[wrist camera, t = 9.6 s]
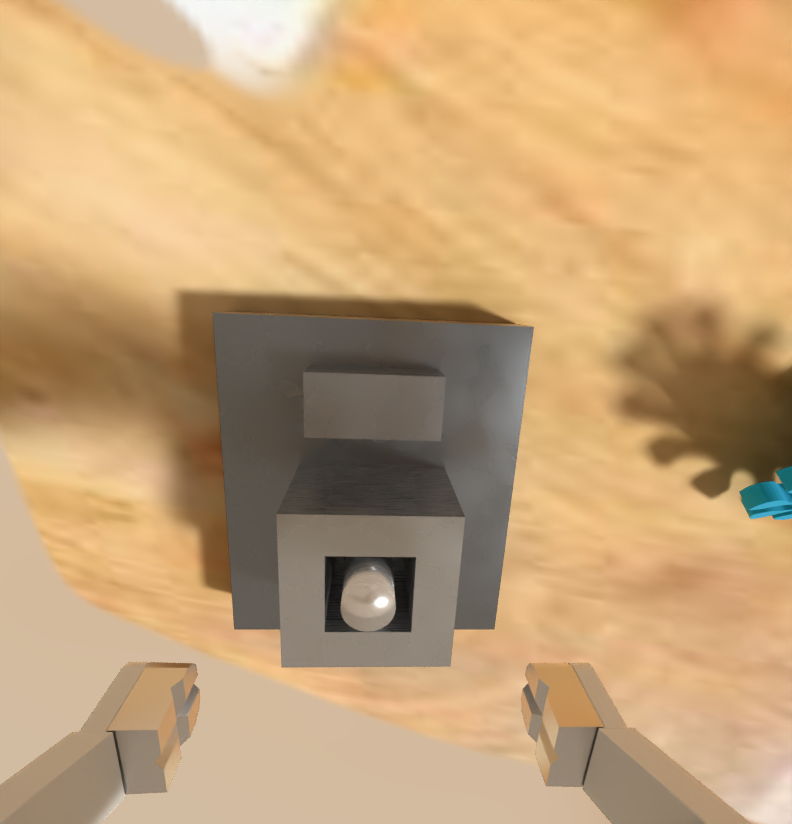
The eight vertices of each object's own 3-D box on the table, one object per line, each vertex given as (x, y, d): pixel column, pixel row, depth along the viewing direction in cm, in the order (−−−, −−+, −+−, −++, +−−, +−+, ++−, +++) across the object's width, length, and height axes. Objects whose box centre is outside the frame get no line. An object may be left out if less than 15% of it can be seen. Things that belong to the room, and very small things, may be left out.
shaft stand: (230, 310, 17) (147, 318, 11) (516, 323, 18) (593, 337, 12) (247, 598, 21) (192, 728, 14) (483, 599, 21) (528, 723, 15)
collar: (298, 464, 17) (276, 514, 13) (444, 468, 17) (465, 517, 13) (301, 590, 18) (281, 667, 15) (434, 590, 19) (450, 666, 15)
